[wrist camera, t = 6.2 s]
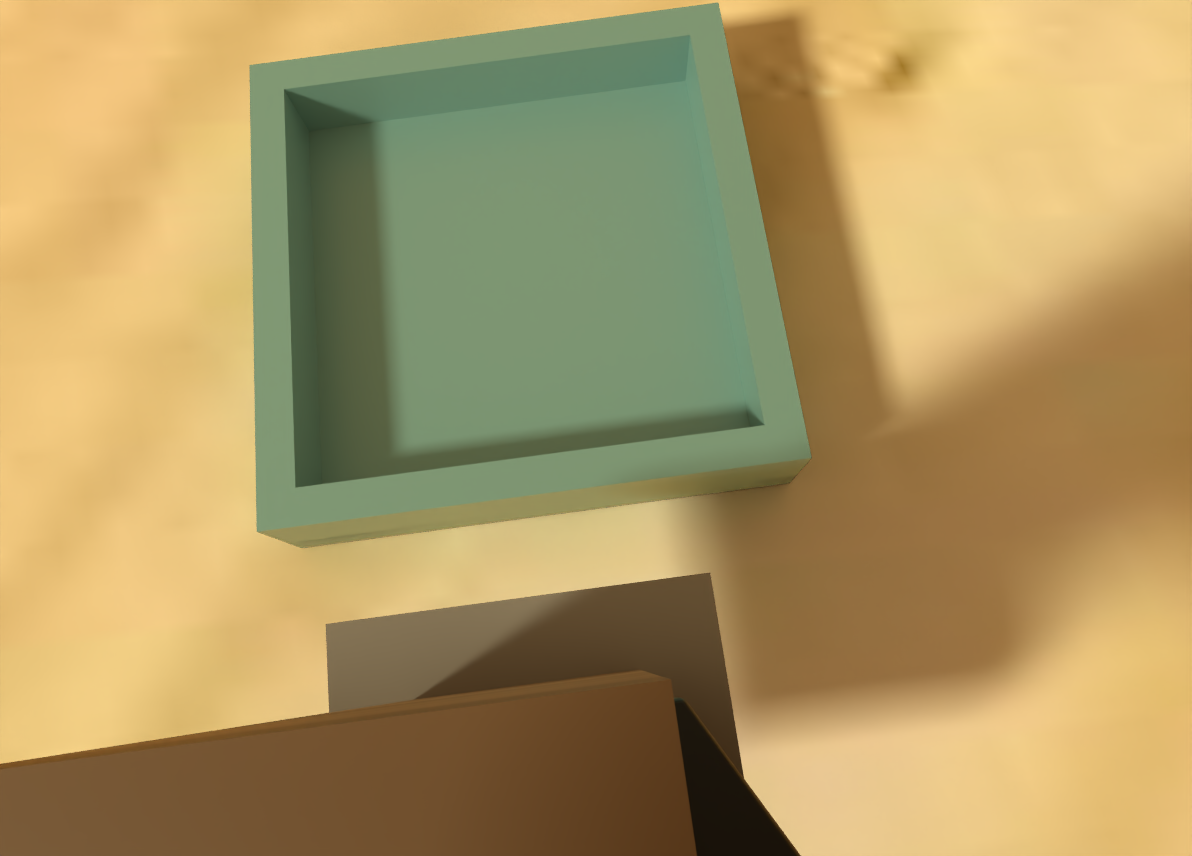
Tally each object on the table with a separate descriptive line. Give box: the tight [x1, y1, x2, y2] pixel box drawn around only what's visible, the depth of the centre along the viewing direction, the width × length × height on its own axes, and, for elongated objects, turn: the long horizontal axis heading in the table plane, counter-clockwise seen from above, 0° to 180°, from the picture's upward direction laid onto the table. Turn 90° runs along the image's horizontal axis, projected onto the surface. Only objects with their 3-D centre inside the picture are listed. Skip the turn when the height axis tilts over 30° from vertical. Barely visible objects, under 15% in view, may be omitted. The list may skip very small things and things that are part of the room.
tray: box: [250, 3, 812, 548], centre depth 24 cm, size 14×14×3 cm
